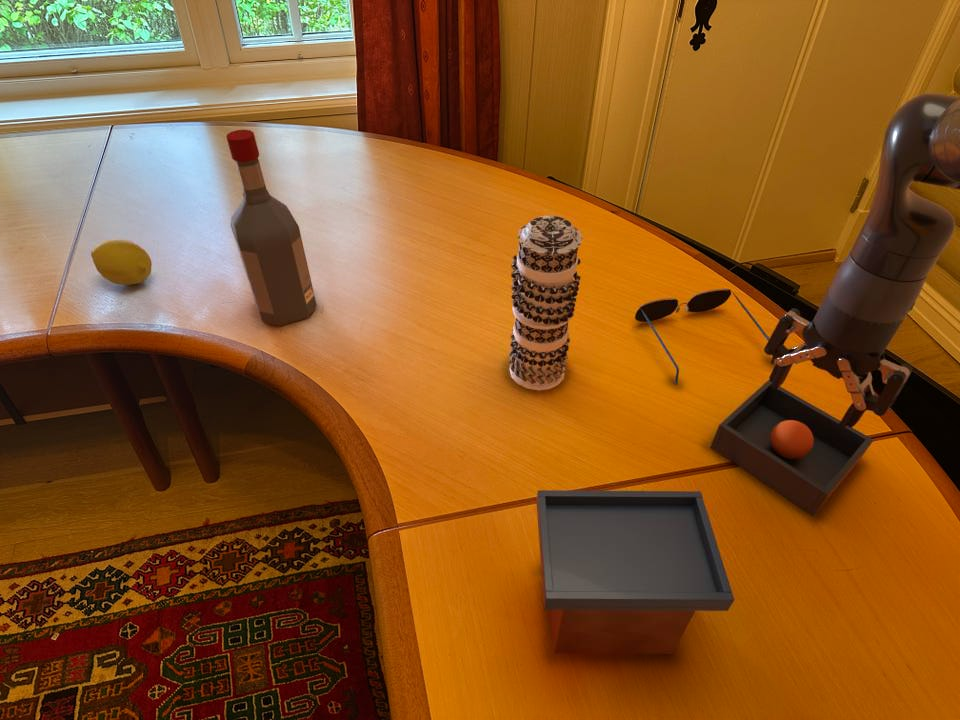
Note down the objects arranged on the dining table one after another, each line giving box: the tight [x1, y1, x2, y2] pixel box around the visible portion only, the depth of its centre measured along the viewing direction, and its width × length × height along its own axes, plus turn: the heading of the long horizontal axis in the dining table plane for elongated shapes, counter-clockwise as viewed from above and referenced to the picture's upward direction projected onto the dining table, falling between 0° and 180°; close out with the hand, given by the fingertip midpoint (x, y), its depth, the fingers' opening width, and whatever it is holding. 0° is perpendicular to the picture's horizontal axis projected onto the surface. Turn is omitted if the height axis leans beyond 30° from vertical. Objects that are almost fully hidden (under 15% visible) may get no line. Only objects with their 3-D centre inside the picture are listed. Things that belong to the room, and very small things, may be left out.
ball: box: [770, 420, 814, 459], centre depth 78 cm, size 5×5×5 cm
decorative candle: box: [508, 215, 584, 391], centre depth 83 cm, size 9×9×25 cm
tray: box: [535, 489, 735, 612], centre depth 56 cm, size 16×11×2 cm
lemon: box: [90, 238, 153, 286], centre depth 106 cm, size 11×8×8 cm
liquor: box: [226, 129, 317, 327], centre depth 93 cm, size 9×9×30 cm
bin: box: [709, 379, 874, 517], centre depth 79 cm, size 14×12×5 cm
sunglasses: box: [634, 288, 776, 385], centre depth 95 cm, size 17×15×5 cm
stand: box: [550, 610, 696, 655], centre depth 61 cm, size 12×9×12 cm
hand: (809, 404), depth 74 cm, fingers open, 8 cm apart
